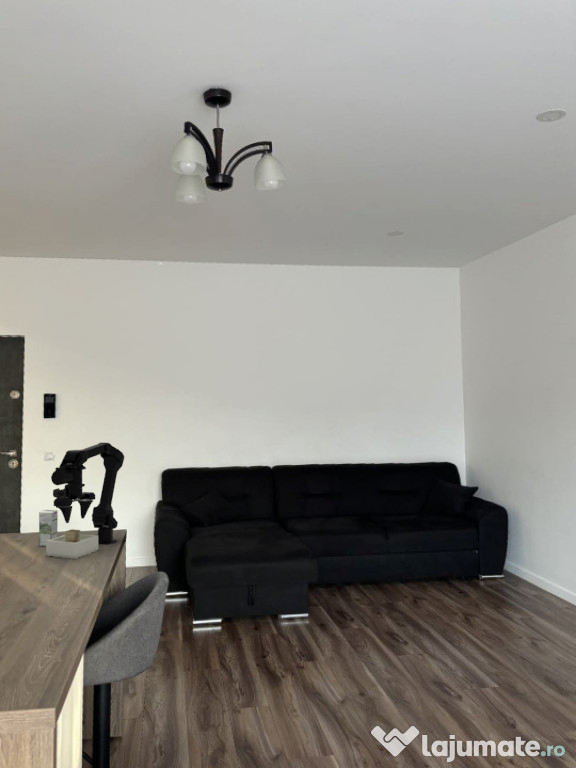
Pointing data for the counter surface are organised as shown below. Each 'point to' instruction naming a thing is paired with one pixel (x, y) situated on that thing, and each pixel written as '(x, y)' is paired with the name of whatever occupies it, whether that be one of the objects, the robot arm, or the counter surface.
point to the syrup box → (47, 526)
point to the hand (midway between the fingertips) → (75, 520)
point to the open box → (71, 547)
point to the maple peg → (72, 536)
